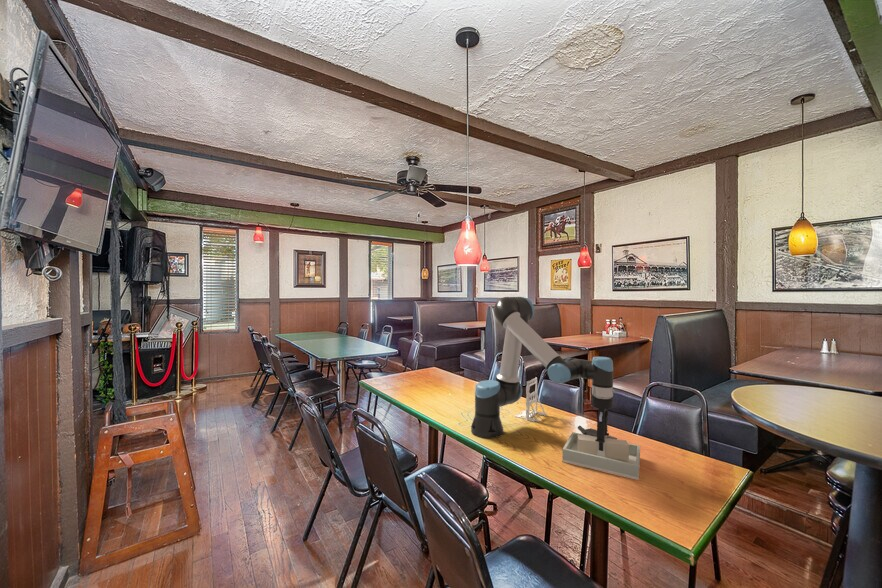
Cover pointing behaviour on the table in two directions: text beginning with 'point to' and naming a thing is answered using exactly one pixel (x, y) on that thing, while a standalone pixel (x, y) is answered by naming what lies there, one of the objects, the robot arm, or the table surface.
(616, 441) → the beige rectangular block
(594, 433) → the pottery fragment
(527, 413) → the film strip holder
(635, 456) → the divided grey tray
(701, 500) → the table surface
